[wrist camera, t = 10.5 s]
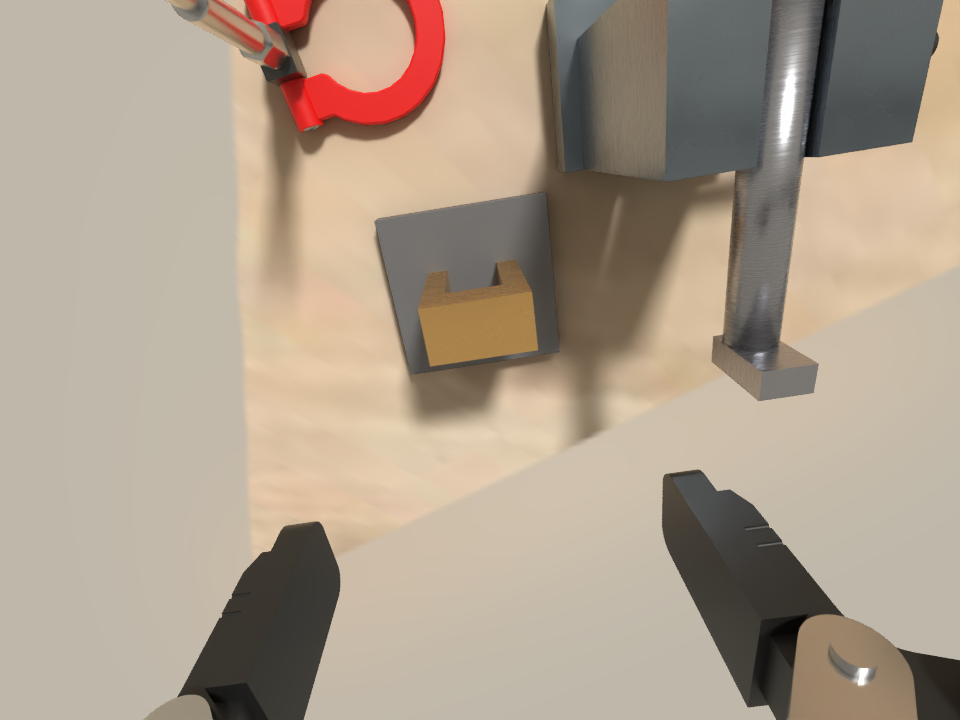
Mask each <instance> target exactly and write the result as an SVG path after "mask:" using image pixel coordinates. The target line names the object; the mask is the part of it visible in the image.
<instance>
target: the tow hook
mask: <svg viewBox="0 0 960 720" xmlns="http://www.w3.org/2000/svg"><path fill="white" fill-rule="evenodd" d="M166 1H168V2H169V3H171V5H172V7H173V8H174V10H175V11H176V12H177V14H178V15H179V16H181V17H182V18H184V19H185V20H187V21H189V22H191V23H193V24H194V25H196V26H198V27H200V28H202V29H204V30H205V31H207V32H209V33H211V34H213V35H215V36H216V37H218V38H220V39H222V40H224V41H226V42H228V43H229V44H231V45H233V46H235V47H237V48H239V50H240V52H241V54H242V56H243V57H245V58H247V59H248V60H250V61H252V62H254V63H256V64H259V65H260V66H261V68H262V71H263V73H264V75H265V78H266V80H267V81H269V82H271V83H273V84H275V85H278V86H280V87H281V90H282V92H283V94H284V97H285V99H286V102H287V104H288V106H289V109H290V111H291V113H292V116H293V118H294V121H295V123H296V125H297V128H298V130H299V132H304V131H305V132H306V131H311V130H314V129H317V128H319V127H320V126H322V125H323V124H324V123H323V120H326V119H329V118H332V117H335V116H337V117H339V118H341V119H343V120H345V121H349V122H353V123H358V124H363V125H376V124H387V123H390V122H392V121H395V120H397V119H400V118H402V117H405V116H406V115H408V114H409V113H410V112H411V111H413V110H414V109H415V108H416V107H418V106H419V105H420V104H421V103H422V102H423V100H424V99H425V98H426V96H427V95H428V93H429V92H430V91H431V89H432V88H433V86H434V84H435V81H436V79H437V76H438V74H439V71H440V68H441V66H442V60H443V52H444V45H445V30H444V18H443V11H442V7H441V4H440V1H439V0H406V1H407V3H408V5H409V7H410V10H411V13H412V16H413V19H414V22H415V31H416V40H415V49H414V54H413V56H412V59H411V62H410V65H409V67H408V68H407V70H406V71H405V73H404V74H403V76H402V77H401V78H400V79H399V80H398V81H397V82H395V83H394V84H393V85H392V86H390V87H388V88H386V89H384V90H381V91H379V92H370V93H362V92H357V91H353V90H349V89H347V88H345V87H344V86H342V85H340V84H338V83H337V82H336V81H334V80H333V79H332V78H331V77H330V76H329V75H326V74H319V75H316V76H313V77H310V78H308V79H307V74H306V72H305V69H304V67H303V64H302V62H301V59H300V56H299V54H298V51H297V49H296V46H295V44H294V41H293V39H292V36H291V34H290V33H289V32H288V31H291V30H294V29H296V28H299V27H302V26H305V25H306V24H307V22H308V20H309V11H310V7H311V4H312V0H244V1H245V4H246V6H247V9H248V11H249V13H250V16H251V18H252V19H249V18H247V17H246V16H244V15H243V14H241V13H240V12H239V11H237V10H236V9H235V8H233V7H232V6H230V5H229V4H228V3H226V2H225V1H224V0H166Z"/></svg>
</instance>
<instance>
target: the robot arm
mask: <svg viewBox="0 0 960 720" xmlns="http://www.w3.org/2000/svg"><path fill="white" fill-rule="evenodd" d="M662 509H663V510H662V528H663V534H664V538H665V542H666V545H667V548H668V551H669V553H670V555H671V557H672V559H673V561H674V563H675V565H676V567H677V569H678V570H679V573H680V575H681V577H682V579H683V581H684V583H685V584H686V587H687V589H688V591H689V592H690V595H691V596H692V598H693V600H694V602H695V604H696V606H697V608H698V610H699V612H700V614H701V616H702V618H703V620H704V622H705V624H706V626H707V628H708V630H709V632H710V634H711V636H712V638H713V640H714V642H715V644H716V646H717V648H718V650H719V652H720V654H721V655H722V658H723V659H724V661H725V663H726V665H727V667H728V669H729V671H730V673H731V675H732V677H733V679H734V681H735V683H736V685H737V687H738V689H739V691H740V693H741V695H742V697H743V699H744V701H745V703H746V705H747V707H755V706H764V705H769V707H770V709H771V711H772V712H773V714H774V716H775V718H776V720H960V660H955V659H948V658H943V657H937V656H932V655H926V654H920V653H914V652H910V651H906V650H902V649H899V648H896V647H895V646H894V645H893V644H892V643H891V642H890V641H888V640H887V639H886V638H885V637H883V636H882V635H881V634H880V633H878V632H876V631H875V630H873V629H872V628H870V627H868V626H866V625H864V624H862V623H860V622H858V621H855V620H853V619H850V618H847V617H844V615H843V614H842V613H841V612H840V611H839V610H838V609H837V608H836V606H835V605H834V604H833V603H832V602H831V600H830V599H829V598H828V597H827V595H826V594H825V593H824V592H823V591H822V589H821V588H820V587H819V585H818V584H817V583H816V582H815V581H814V579H813V578H812V577H811V576H810V574H809V573H808V572H807V571H806V569H805V568H804V567H803V566H802V565H801V563H800V562H799V561H798V560H797V558H796V557H795V556H794V555H793V554H792V552H791V551H790V550H789V549H788V547H787V546H786V545H783V543H782V540H781V539H780V538H779V536H778V535H777V534H776V533H775V532H774V530H773V529H772V528H769V524H768V523H767V522H766V520H765V519H764V518H763V517H762V515H761V514H760V513H759V512H758V510H757V509H756V508H755V507H754V506H753V505H752V504H751V503H749V502H748V501H746V500H745V499H743V498H742V497H740V496H739V495H737V494H736V493H734V492H733V491H731V490H723V491H716V489H715V488H714V486H713V485H712V484H711V483H710V481H709V480H708V478H707V477H706V476H705V474H704V473H703V472H702V471H700V470H692V471H684V472H677V473H670V474H665V475H664V477H663V504H662ZM339 592H340V572H339V567H338V565H337V562H336V559H335V557H334V554H333V552H332V549H331V546H330V544H329V541H328V539H327V536H326V534H325V531H324V528H323V526H322V525H321V523H320V522H309V523H302V524H295V525H288V526H285V527H284V528H283V529H282V530H281V532H280V533H279V536H278V538H277V540H276V542H275V544H274V546H273V548H272V550H271V551H269V552H262V553H261V554H260V555H259V556H258V558H257V559H256V560H255V561H254V562H253V563H252V564H251V565H250V566H249V567H248V568H247V569H246V571H244V573H243V575H242V576H241V578H240V580H239V582H238V584H237V586H236V588H235V590H234V591H233V593H232V599H229V601H228V603H227V605H226V607H225V609H224V611H223V612H222V618H219V620H218V622H217V624H216V626H215V627H214V629H213V631H212V633H211V635H210V637H209V639H208V641H207V643H206V645H205V647H204V648H203V650H202V652H201V654H200V656H199V658H198V660H197V662H196V664H195V666H194V667H193V669H192V671H191V673H190V675H189V677H188V679H187V681H186V682H185V684H184V686H183V688H182V690H181V692H180V693H179V695H178V697H177V698H175V699H172V700H170V701H168V702H166V703H165V704H163V705H161V706H160V707H158V708H157V709H156V710H154V711H153V712H152V713H150V714H149V715H148V716H147V717H146V718H145V719H144V720H304V716H305V712H306V709H307V705H308V702H309V699H310V695H311V691H312V688H313V684H314V681H315V677H316V674H317V670H318V667H319V663H320V660H321V656H322V653H323V649H324V646H325V642H326V639H327V635H328V632H329V628H330V625H331V621H332V617H333V614H334V611H335V607H336V604H337V600H338V597H339Z"/></svg>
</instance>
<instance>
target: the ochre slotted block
mask: <svg viewBox="0 0 960 720" xmlns="http://www.w3.org/2000/svg"><path fill="white" fill-rule="evenodd" d="M496 266H497V273H498V281H499V285H496V286H490V287H483V288H477V289H470V290H464V291H458V292H451V289H450V283H449V278H448V272H447V270H446V271H440V272H434V273H428V274H427V278H426V281H425V285H424V289H423V292H422V296H421V300H420V303H419V307H418V312H419V317H420V322H421V326H422V331H423V336H424V340H425V345H426V350H427V354H428V359H429V363H430V367H431V366H437V365H444V364H451V363H457V362H464V361H470V360H477V359H484V358H490V357H497V356H503V355H510V354H516V353H523V352H530V351H536V350H538V344H537V334H536V325H535V315H534V306H533V296H532V291H531V289H530V287H529V285H528V283H527V281H526V279H525V277H524V275H523V273H522V271H521V269H520V267H519V265H518V263H517V261H516V260H510V261H503V262H497V263H496Z"/></svg>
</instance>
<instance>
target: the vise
mask: <svg viewBox="0 0 960 720" xmlns="http://www.w3.org/2000/svg"><path fill="white" fill-rule="evenodd" d="M942 4H943V0H549V1H548V3H547V4H546V10H547V23H548V37H549V51H550V65H551V78H552V92H553V106H554V120H555V133H556V147H557V161H558V171H559V172H564V173H567V172H573V171H579V170H589V171H595V172H602V173H609V174H615V175H622V176H629V177H635V178H642V179H649V180H655V181H662V182H668V181H674V180H680V179H686V178H693V177H699V176H705V175H711V174H717V173H724V172H730V171H735V183H734V197H733V210H732V223H731V236H730V249H729V262H728V275H727V288H726V301H725V314H724V328H723V335H719V336H713V349H712V362H713V363H714V364H715V365H716V366H717V367H719V368H720V369H721V370H722V371H723V372H725V373H726V374H727V375H728V376H729V377H731V378H732V379H733V380H734V381H735V382H737V383H738V384H739V385H740V386H742V387H743V388H744V389H745V390H746V391H747V392H749V393H750V394H751V395H752V396H753V397H754V398H756V399H757V400H758V401H763V400H769V399H776V398H783V397H789V396H796V395H803V394H810V393H813V392H814V387H815V381H816V376H817V370H818V363H816V362H815V361H813V360H811V359H810V358H808V357H806V356H805V355H803V354H801V353H800V352H798V351H796V350H794V349H793V348H791V347H789V346H788V345H786V344H784V343H783V342H781V341H780V335H781V328H782V320H783V313H784V305H785V298H786V290H787V283H788V275H789V268H790V260H791V253H792V245H793V237H794V230H795V222H796V215H797V207H798V200H799V192H800V185H801V177H802V170H803V162H804V157H823V156H829V155H835V154H841V153H848V152H854V151H860V150H866V149H872V148H879V147H885V146H891V145H897V144H903V143H910V142H912V141H913V136H914V132H915V127H916V122H917V118H918V113H919V109H920V104H921V100H922V95H923V91H924V86H925V82H926V77H927V72H928V68H929V63H930V59H931V56H932V55H933V53H934V52H935V50H936V48H937V46H938V41H939V36H938V33H937V27H938V22H939V18H940V13H941V9H942Z"/></svg>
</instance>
